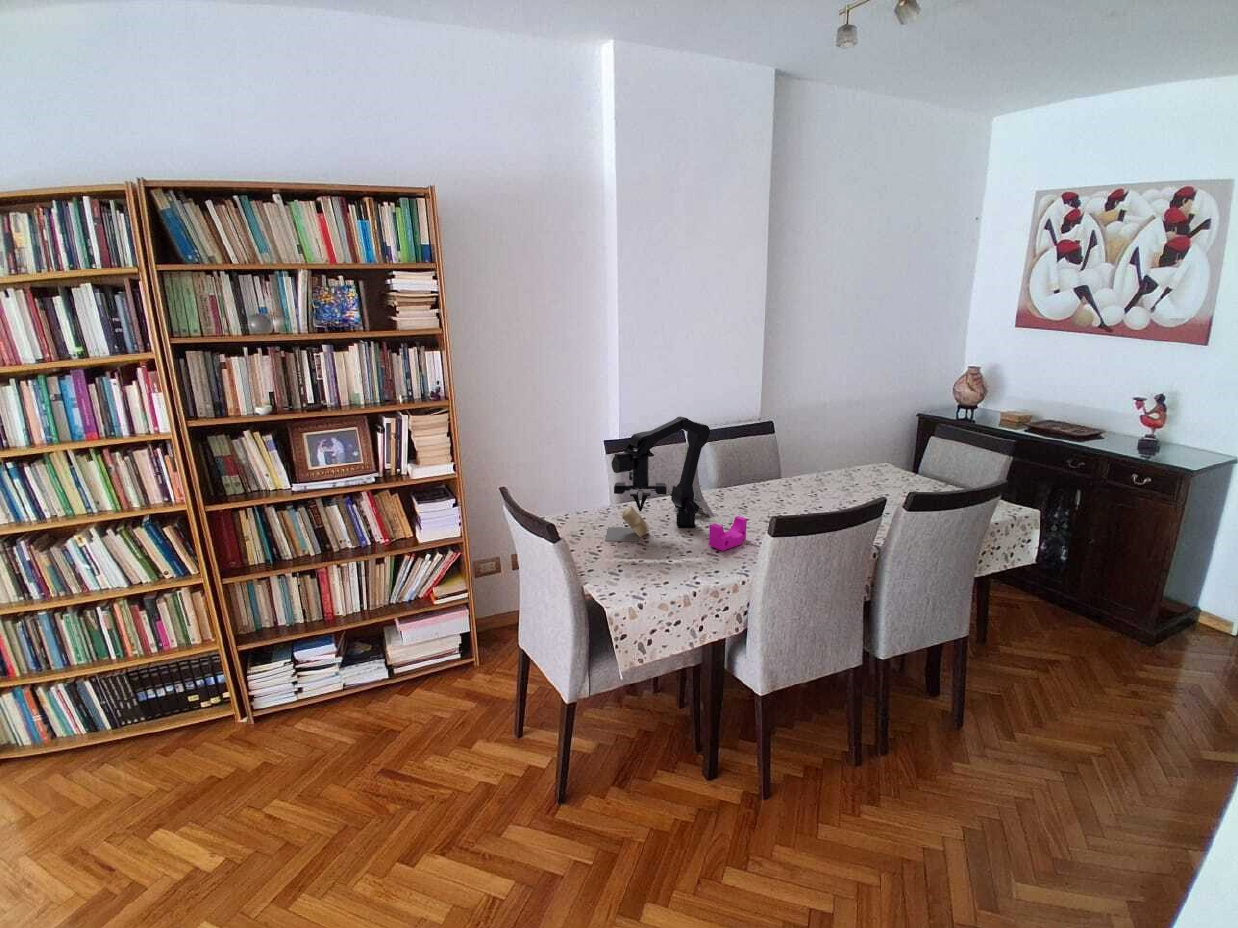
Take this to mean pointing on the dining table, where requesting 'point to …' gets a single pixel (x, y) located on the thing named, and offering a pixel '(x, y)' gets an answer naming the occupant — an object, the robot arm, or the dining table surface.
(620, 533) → the placemat
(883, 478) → the dining table surface
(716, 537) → the toy block
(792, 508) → the dining table surface
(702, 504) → the eiffel tower
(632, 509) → the oak block
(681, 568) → the dining table surface
